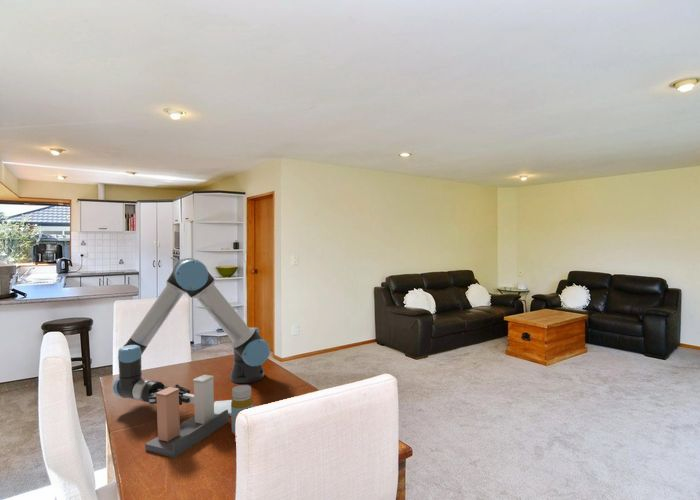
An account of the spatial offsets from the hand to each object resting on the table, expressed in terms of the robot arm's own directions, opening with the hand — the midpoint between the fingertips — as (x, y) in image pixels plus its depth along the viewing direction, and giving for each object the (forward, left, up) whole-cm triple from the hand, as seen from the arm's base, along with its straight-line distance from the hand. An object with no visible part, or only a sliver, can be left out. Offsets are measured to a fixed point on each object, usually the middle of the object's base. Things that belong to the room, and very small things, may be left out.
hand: (198, 400), depth 136 cm
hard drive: (-11, -8, -10) cm, 16 cm away
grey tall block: (-1, +2, -7) cm, 7 cm away
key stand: (+5, +5, -9) cm, 11 cm away
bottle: (-10, +14, -9) cm, 20 cm away
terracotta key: (+11, +6, -7) cm, 14 cm away
